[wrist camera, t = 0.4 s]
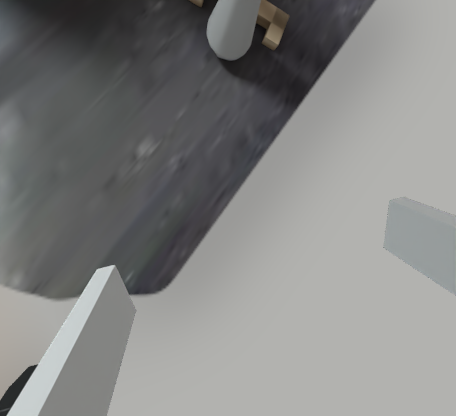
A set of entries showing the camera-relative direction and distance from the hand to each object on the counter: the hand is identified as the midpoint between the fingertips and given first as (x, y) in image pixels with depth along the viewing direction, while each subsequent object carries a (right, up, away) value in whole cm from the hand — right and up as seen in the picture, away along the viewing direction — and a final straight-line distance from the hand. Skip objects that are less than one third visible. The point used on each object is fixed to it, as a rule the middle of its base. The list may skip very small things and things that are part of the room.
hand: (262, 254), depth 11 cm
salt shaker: (-2, +24, +20) cm, 31 cm away
